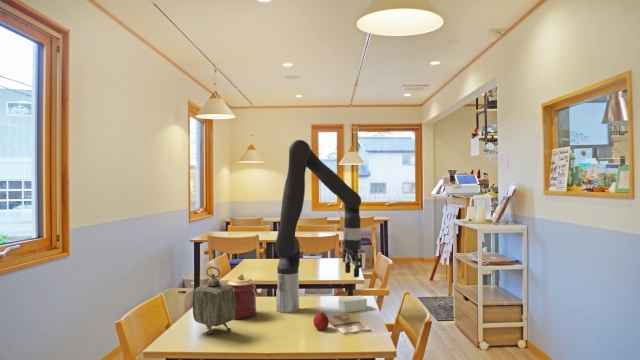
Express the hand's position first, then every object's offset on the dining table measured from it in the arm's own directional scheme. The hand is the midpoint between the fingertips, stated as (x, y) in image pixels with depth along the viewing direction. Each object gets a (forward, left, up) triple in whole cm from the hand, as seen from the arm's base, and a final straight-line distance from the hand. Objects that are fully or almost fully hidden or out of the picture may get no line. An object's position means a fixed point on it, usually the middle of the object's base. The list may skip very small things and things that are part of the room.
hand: (352, 275), depth 190 cm
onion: (-22, -18, -16) cm, 33 cm away
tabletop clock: (-60, -2, -16) cm, 62 cm away
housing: (0, 0, -16) cm, 16 cm away
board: (-11, -17, -16) cm, 26 cm away
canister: (-46, +15, -16) cm, 51 cm away
